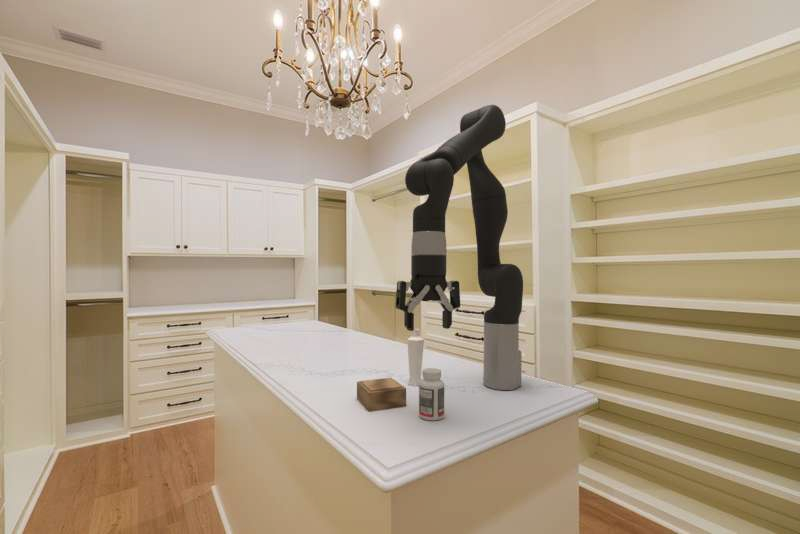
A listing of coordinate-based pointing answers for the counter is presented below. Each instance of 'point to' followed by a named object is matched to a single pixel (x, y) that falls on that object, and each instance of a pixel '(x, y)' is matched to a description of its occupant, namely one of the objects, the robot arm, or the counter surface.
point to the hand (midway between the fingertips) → (428, 329)
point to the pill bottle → (431, 395)
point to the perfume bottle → (415, 357)
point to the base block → (381, 394)
